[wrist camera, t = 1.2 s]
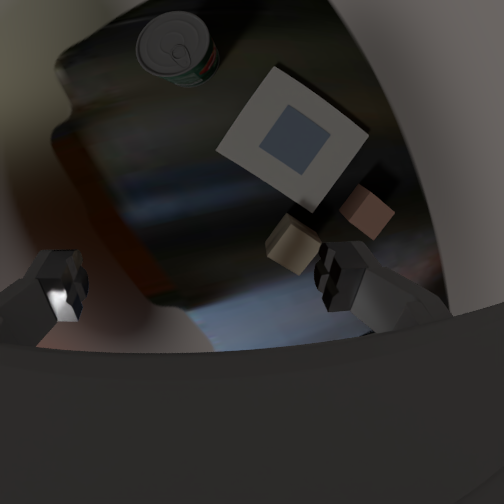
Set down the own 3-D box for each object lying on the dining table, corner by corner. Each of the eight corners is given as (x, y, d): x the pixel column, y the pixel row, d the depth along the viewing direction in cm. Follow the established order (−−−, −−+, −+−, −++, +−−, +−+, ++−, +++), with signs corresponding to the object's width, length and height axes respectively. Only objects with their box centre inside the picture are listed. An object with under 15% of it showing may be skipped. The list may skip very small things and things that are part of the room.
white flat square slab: (366, 135, 38) (369, 135, 37) (310, 210, 43) (312, 213, 42) (273, 67, 34) (274, 65, 33) (216, 149, 39) (215, 150, 38)
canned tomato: (153, 55, 33) (123, 38, 23) (202, 26, 31) (187, -2, 21) (180, 98, 36) (156, 91, 26) (230, 69, 34) (223, 51, 24)
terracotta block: (381, 202, 42) (394, 212, 38) (362, 227, 44) (373, 240, 40) (358, 183, 41) (370, 191, 37) (338, 210, 43) (348, 220, 38)
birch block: (315, 232, 44) (323, 245, 40) (294, 259, 46) (299, 275, 42) (286, 212, 43) (290, 224, 39) (265, 241, 45) (266, 256, 41)
